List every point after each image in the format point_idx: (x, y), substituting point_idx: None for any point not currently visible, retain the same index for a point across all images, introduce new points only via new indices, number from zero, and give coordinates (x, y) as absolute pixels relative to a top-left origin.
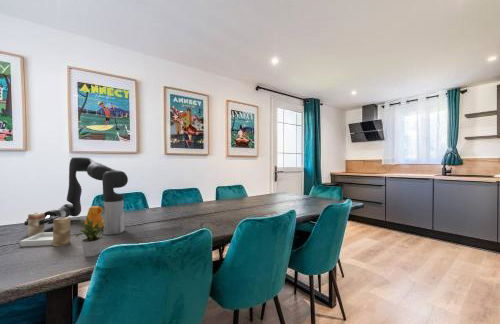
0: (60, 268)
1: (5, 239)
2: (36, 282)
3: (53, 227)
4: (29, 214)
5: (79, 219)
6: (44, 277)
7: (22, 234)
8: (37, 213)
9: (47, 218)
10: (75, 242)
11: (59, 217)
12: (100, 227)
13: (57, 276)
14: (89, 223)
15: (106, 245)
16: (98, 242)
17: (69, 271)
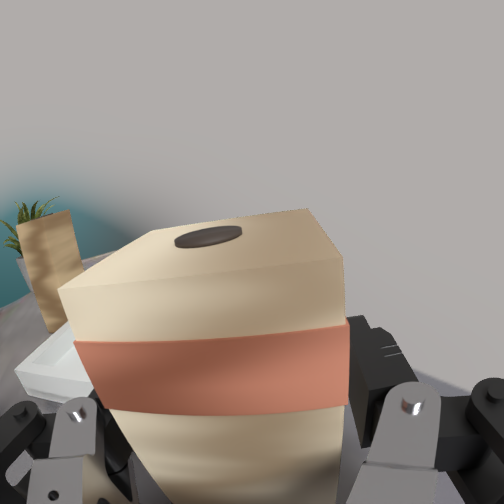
0: (93, 263)
1: (427, 378)
2: (119, 249)
3: (75, 241)
4: (295, 211)
5: (35, 204)
6: (111, 253)
7: (443, 493)
8: (183, 236)
9: (69, 403)
10: (37, 330)
11: (43, 217)
12: None
13: (98, 255)
14: (23, 220)
15: (2, 309)
16: None
17: (84, 260)
